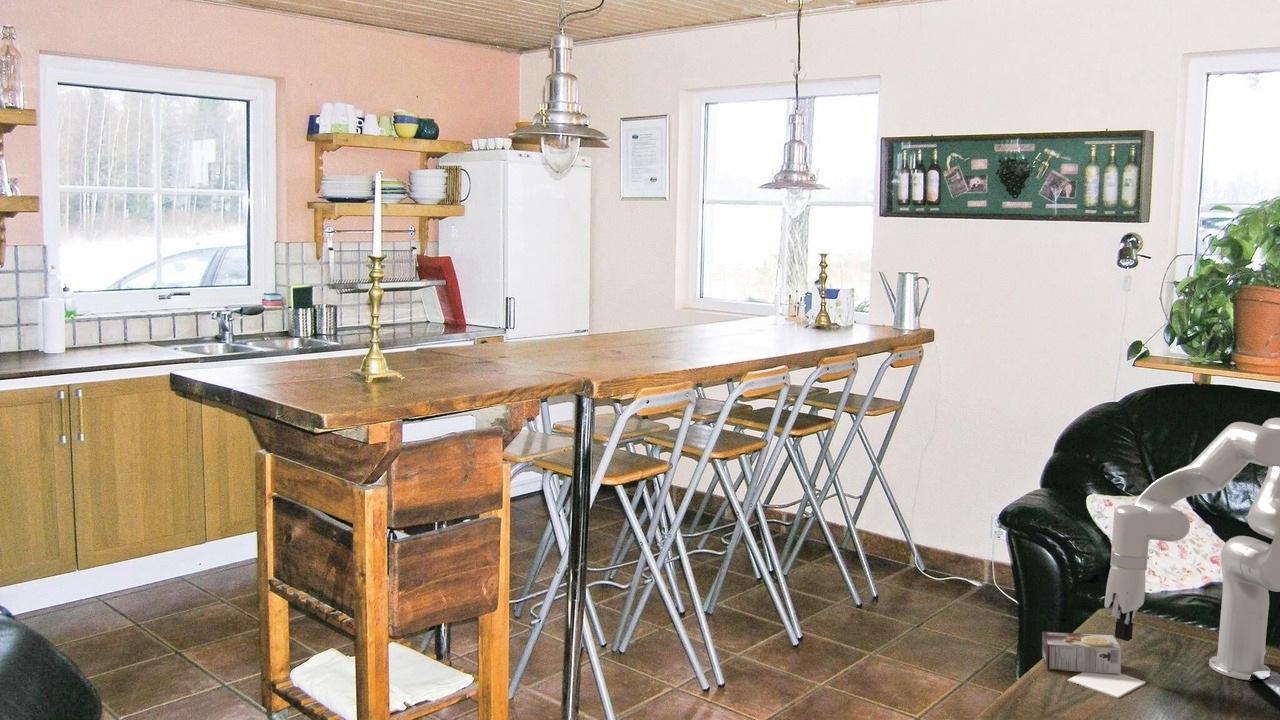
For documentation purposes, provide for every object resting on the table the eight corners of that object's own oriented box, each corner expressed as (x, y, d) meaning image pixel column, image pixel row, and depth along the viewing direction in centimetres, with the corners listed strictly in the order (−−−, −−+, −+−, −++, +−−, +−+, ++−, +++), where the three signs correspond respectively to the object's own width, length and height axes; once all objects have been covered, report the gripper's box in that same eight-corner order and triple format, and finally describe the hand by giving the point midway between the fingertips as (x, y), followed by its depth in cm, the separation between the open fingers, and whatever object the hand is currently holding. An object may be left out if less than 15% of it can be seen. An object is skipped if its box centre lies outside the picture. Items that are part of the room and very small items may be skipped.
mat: (1096, 667, 255) (1096, 665, 255) (1145, 683, 246) (1145, 681, 246) (1067, 681, 247) (1067, 679, 247) (1117, 698, 238) (1117, 696, 238)
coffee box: (1113, 661, 258) (1041, 656, 261) (1113, 634, 257) (1041, 630, 261) (1121, 674, 249) (1046, 670, 252) (1121, 647, 248) (1047, 643, 252)
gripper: (1128, 550, 254) (1123, 626, 256) (1096, 562, 244) (1091, 641, 246) (1160, 558, 248) (1155, 636, 250) (1129, 570, 239) (1123, 651, 241)
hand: (1123, 638), depth 248 cm, fingers closed
